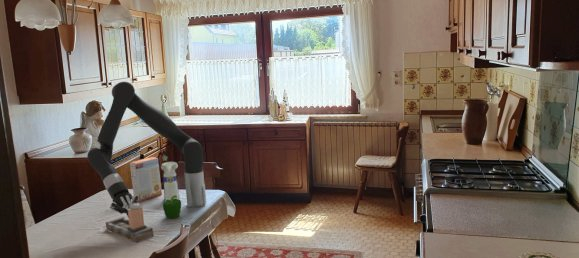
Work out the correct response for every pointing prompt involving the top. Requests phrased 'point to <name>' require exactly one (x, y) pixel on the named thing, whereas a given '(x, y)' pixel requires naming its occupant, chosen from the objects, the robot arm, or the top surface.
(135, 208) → the slider tab
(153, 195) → the cracker box
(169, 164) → the white bottle
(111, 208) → the robot arm
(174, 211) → the bell pepper
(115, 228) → the fader track
